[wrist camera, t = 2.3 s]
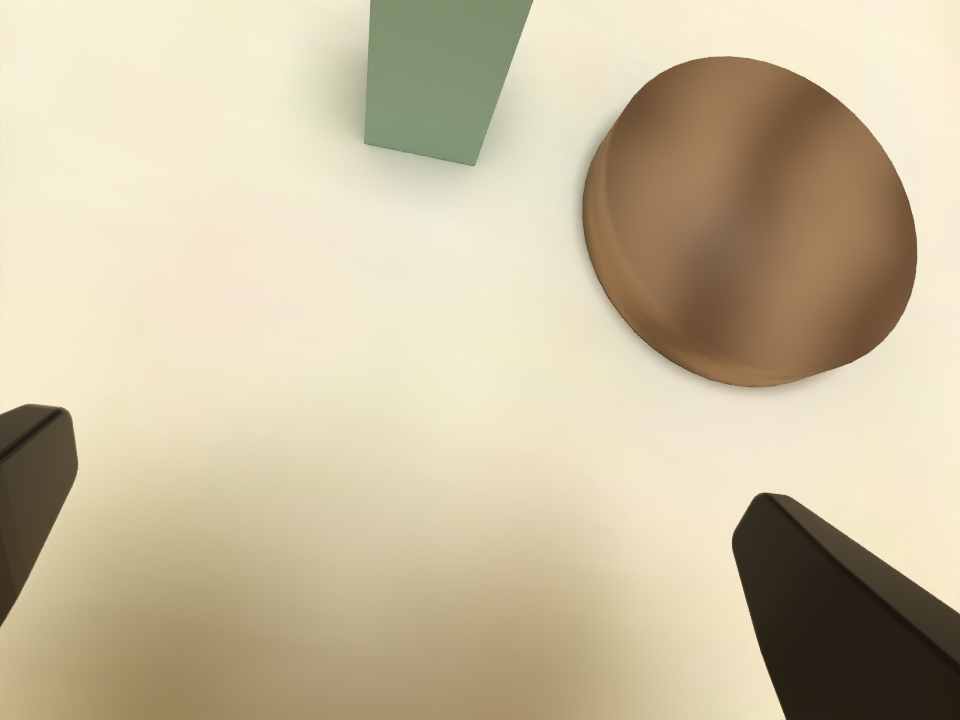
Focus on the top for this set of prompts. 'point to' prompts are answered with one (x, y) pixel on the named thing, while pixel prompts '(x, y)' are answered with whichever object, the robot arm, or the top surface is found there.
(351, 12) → the top surface
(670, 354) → the walnut base
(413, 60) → the sage green post
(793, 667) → the robot arm
